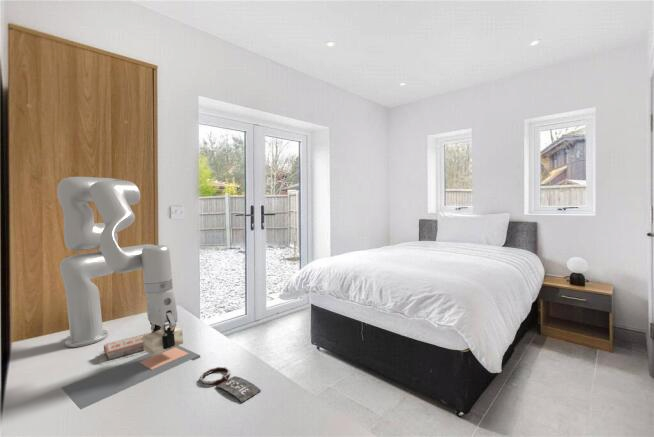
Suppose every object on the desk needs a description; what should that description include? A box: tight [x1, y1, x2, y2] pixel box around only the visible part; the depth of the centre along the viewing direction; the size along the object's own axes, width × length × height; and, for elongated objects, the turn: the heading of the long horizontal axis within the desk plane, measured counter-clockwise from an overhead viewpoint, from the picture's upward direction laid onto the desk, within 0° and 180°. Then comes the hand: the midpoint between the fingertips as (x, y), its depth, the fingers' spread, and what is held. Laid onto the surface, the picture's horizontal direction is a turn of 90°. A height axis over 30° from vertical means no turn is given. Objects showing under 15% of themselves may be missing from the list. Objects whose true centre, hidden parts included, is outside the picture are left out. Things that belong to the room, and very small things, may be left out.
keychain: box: [199, 366, 262, 403], centre depth 81 cm, size 8×19×2 cm, turn 51°
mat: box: [61, 345, 201, 410], centre depth 90 cm, size 16×30×1 cm, turn 143°
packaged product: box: [99, 331, 152, 366], centre depth 103 cm, size 18×5×10 cm
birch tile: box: [143, 326, 184, 355], centre depth 96 cm, size 9×6×4 cm, turn 143°
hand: (163, 344), depth 96 cm, fingers closed on birch tile, 6 cm apart
